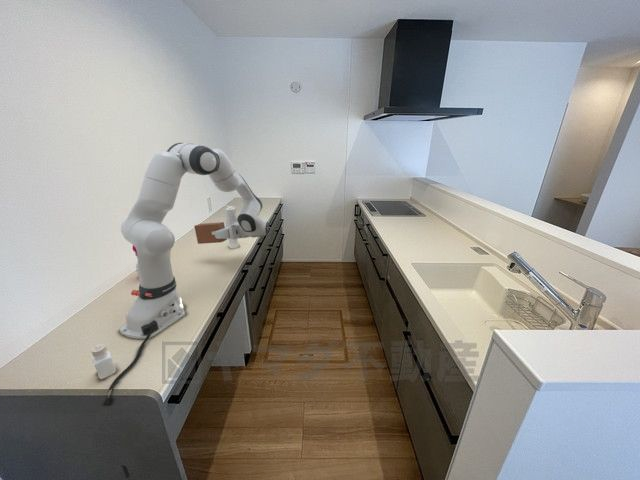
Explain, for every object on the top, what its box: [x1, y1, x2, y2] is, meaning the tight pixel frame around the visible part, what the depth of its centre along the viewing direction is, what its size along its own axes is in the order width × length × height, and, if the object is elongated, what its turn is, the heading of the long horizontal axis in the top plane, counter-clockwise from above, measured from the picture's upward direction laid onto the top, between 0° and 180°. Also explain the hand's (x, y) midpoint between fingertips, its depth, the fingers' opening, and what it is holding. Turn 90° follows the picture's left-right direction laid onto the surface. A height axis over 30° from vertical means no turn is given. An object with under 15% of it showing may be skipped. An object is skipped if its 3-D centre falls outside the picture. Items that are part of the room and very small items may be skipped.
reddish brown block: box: [193, 221, 228, 245], centre depth 143 cm, size 6×15×10 cm, turn 82°
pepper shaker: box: [90, 343, 117, 380], centre depth 77 cm, size 4×4×10 cm
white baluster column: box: [222, 205, 241, 250], centre depth 166 cm, size 8×8×28 cm
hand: (215, 231), depth 142 cm, fingers closed on reddish brown block, 6 cm apart
